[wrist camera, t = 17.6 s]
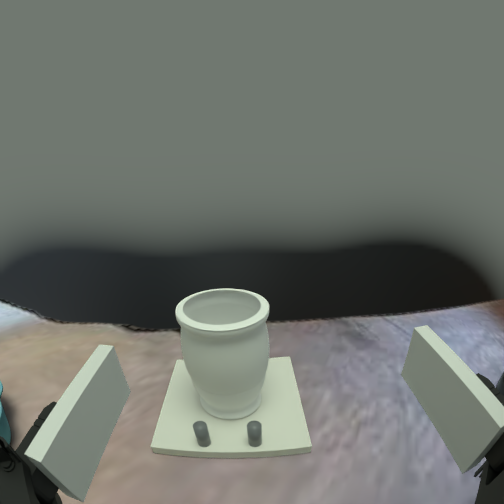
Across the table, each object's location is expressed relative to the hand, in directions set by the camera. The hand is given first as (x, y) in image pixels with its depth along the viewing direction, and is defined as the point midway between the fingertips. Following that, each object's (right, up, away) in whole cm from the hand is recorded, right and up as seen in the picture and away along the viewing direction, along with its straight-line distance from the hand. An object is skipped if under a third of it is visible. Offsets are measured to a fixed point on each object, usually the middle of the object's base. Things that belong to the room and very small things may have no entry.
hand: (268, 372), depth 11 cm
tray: (-4, -17, +24) cm, 30 cm away
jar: (-4, -16, +24) cm, 29 cm away
